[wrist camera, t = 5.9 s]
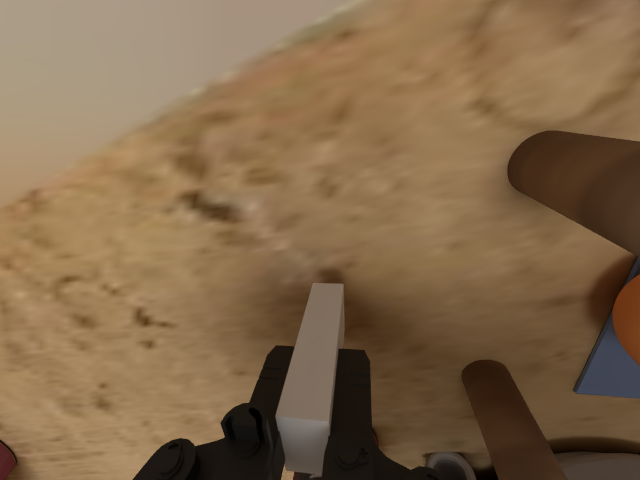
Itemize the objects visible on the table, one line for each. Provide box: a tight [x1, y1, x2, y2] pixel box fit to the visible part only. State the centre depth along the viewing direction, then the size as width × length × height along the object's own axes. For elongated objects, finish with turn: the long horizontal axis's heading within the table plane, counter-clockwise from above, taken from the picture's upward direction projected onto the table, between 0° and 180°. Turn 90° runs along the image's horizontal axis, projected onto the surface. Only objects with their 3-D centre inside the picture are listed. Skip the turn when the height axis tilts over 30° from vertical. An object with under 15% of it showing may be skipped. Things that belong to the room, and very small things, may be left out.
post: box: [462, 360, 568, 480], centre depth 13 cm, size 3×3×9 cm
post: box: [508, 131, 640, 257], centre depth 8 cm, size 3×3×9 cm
